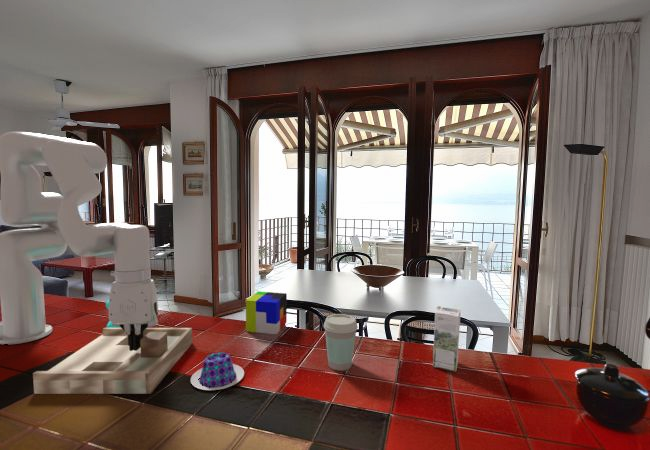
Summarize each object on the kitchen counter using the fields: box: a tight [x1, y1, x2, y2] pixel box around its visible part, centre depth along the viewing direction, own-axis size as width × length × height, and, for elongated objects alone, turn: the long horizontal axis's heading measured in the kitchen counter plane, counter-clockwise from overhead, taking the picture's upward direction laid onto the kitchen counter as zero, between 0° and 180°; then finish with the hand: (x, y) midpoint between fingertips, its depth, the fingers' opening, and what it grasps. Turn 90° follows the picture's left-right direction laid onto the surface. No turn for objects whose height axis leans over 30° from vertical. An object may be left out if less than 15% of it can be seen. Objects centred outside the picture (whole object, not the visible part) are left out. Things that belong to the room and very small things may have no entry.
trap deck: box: [32, 327, 193, 395], centre depth 86 cm, size 24×25×4 cm
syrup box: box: [432, 305, 461, 372], centre depth 88 cm, size 6×6×14 cm
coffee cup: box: [323, 313, 359, 371], centre depth 87 cm, size 8×8×12 cm
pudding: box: [190, 352, 245, 391], centre depth 81 cm, size 12×12×5 cm
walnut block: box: [140, 332, 168, 358], centre depth 86 cm, size 4×4×4 cm
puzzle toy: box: [245, 291, 288, 335], centre depth 112 cm, size 10×10×10 cm
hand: (136, 348), depth 86 cm, fingers closed
